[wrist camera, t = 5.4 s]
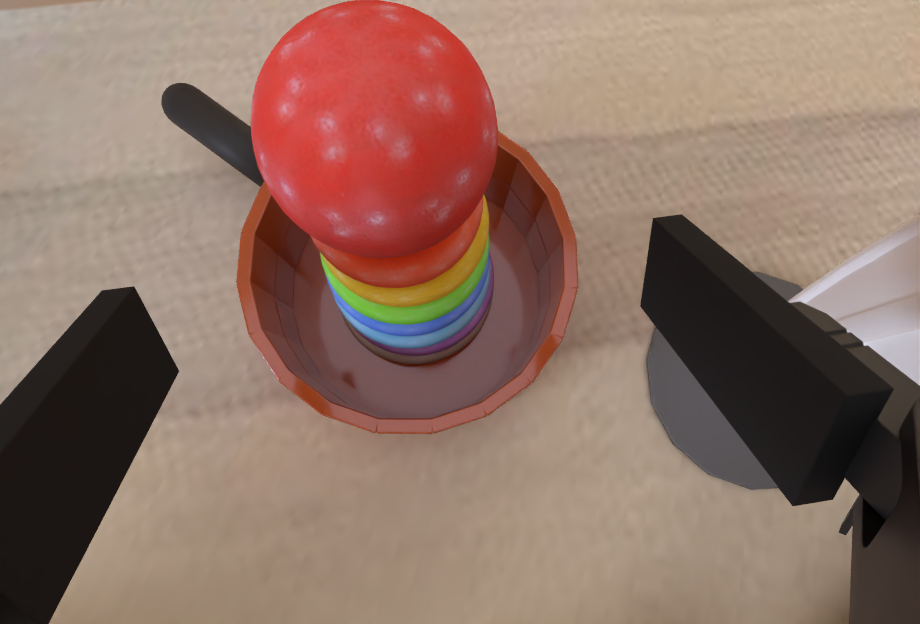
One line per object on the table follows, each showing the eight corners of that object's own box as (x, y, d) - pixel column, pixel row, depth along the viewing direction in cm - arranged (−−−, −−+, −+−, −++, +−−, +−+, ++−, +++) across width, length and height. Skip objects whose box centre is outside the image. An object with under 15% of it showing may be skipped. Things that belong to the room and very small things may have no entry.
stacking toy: (310, 288, 27) (8, 24, 8) (421, 192, 28) (374, -228, 9) (412, 397, 26) (329, 376, 7) (522, 293, 27) (688, 47, 9)
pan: (227, 318, 26) (164, 292, 21) (393, 122, 29) (380, 49, 23) (443, 485, 25) (443, 509, 19) (599, 266, 28) (641, 228, 22)
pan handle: (166, 121, 25) (143, 96, 23) (194, 92, 25) (173, 65, 23) (291, 213, 24) (278, 195, 22) (318, 182, 25) (307, 163, 23)
